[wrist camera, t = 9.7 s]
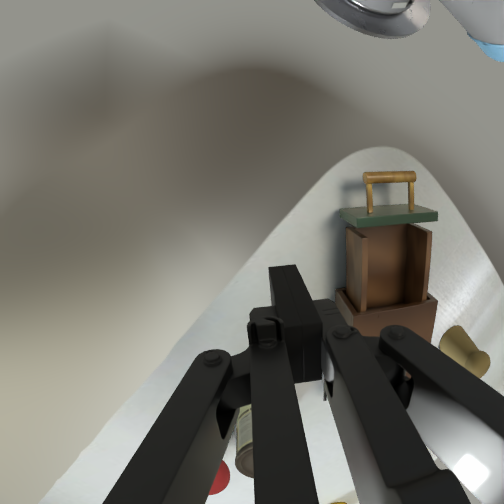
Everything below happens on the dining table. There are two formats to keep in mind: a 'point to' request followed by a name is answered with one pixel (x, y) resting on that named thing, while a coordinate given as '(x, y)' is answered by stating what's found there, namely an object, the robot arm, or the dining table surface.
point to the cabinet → (390, 316)
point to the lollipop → (220, 479)
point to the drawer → (387, 248)
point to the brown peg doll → (464, 351)
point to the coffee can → (244, 442)
